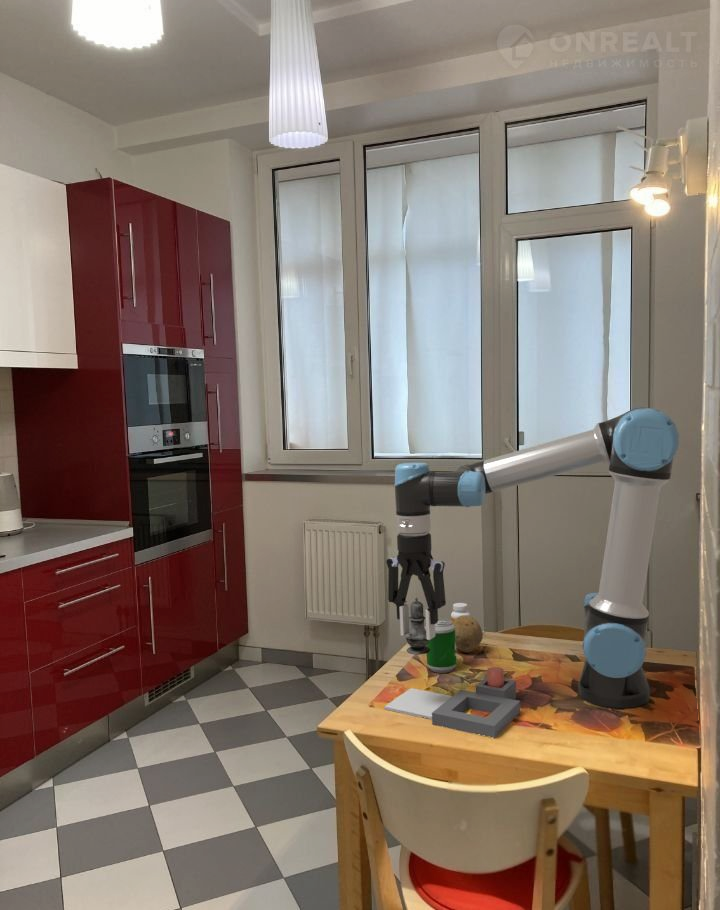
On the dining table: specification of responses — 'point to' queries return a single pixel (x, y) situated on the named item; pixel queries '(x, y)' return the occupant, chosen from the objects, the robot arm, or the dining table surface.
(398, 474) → the robot arm
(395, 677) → the dining table surface
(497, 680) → the plunger
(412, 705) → the grey mat
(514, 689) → the socket housing
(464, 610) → the supplement bottle
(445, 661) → the soda can
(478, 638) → the brown potato
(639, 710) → the dining table surface
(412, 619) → the dark grey figurine
